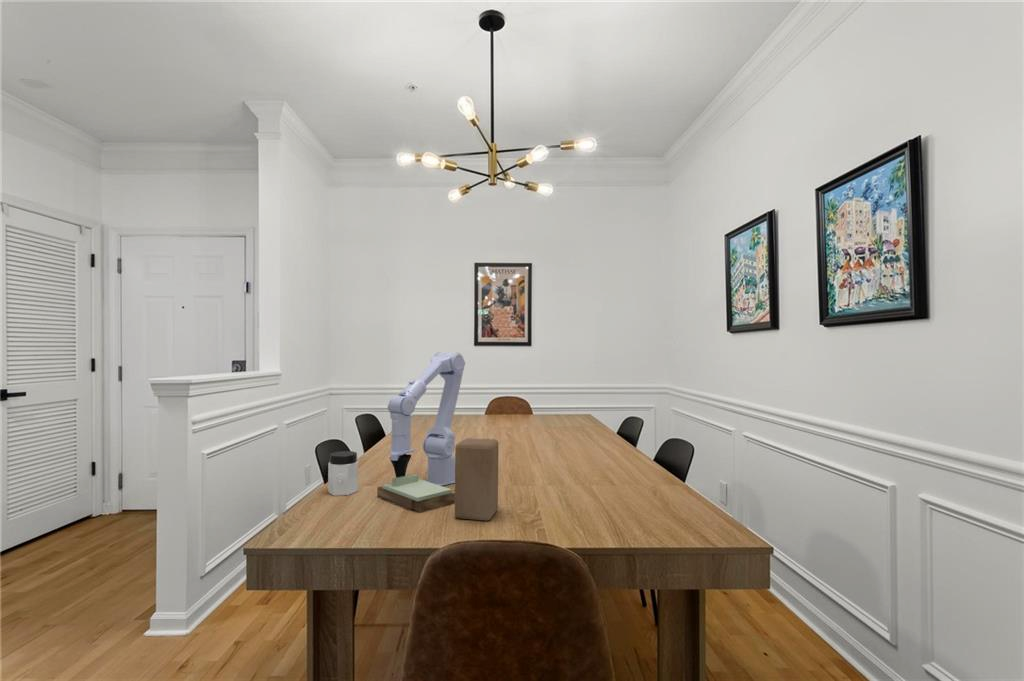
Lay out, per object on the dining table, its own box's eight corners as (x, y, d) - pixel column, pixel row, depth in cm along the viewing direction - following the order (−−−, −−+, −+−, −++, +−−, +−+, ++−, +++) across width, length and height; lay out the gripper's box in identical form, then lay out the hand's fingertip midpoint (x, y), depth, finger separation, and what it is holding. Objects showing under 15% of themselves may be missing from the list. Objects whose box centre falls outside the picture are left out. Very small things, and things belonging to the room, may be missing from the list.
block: (489, 522, 133) (490, 445, 134) (453, 519, 135) (454, 443, 136) (498, 510, 143) (499, 438, 143) (464, 507, 145) (465, 437, 145)
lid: (416, 481, 161) (416, 471, 161) (451, 492, 149) (451, 482, 149) (382, 488, 153) (382, 478, 153) (417, 501, 140) (417, 490, 140)
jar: (325, 496, 155) (325, 456, 155) (330, 488, 163) (331, 451, 163) (355, 495, 156) (356, 456, 156) (359, 488, 164) (360, 450, 164)
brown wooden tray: (426, 485, 167) (426, 476, 168) (467, 499, 153) (467, 489, 153) (377, 496, 155) (377, 487, 155) (417, 513, 140) (417, 502, 140)
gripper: (407, 439, 149) (406, 485, 149) (419, 431, 164) (419, 473, 164) (383, 438, 150) (383, 485, 150) (398, 430, 164) (397, 473, 164)
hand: (400, 479), depth 157 cm, fingers closed
